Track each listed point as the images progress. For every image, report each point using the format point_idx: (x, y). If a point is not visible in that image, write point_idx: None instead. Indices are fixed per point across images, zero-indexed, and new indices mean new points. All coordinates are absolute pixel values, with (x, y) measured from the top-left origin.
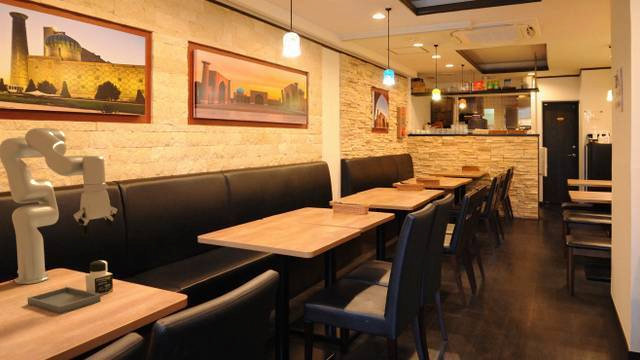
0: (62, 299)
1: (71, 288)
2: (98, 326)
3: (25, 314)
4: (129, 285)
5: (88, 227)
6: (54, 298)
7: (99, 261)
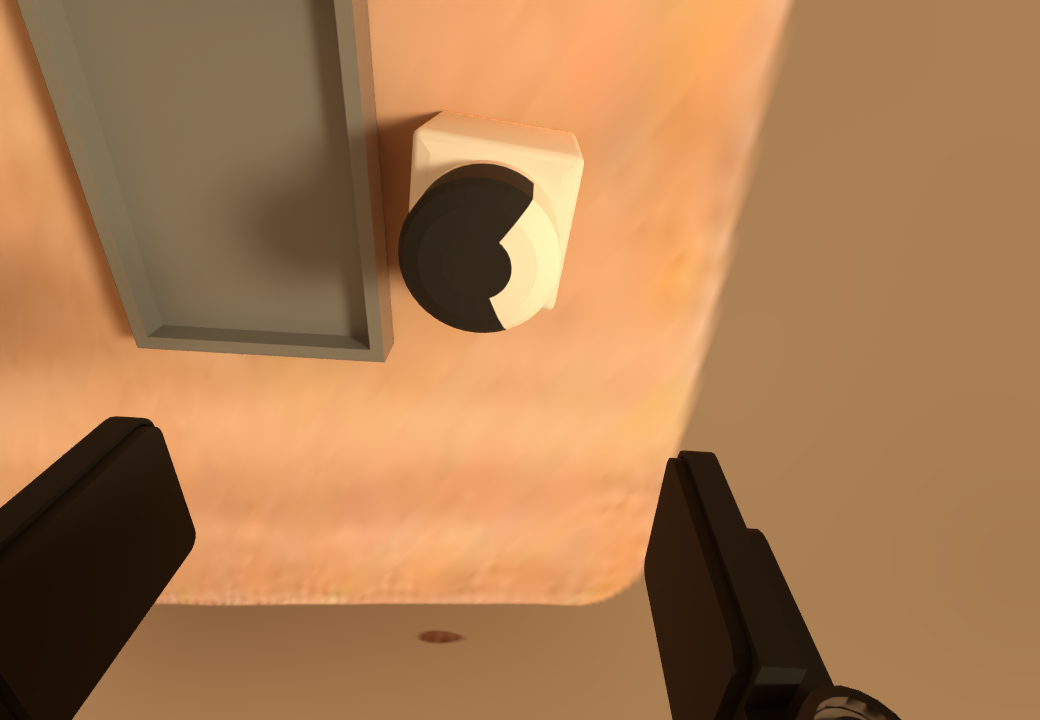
0: (238, 144)
1: (340, 45)
2: (230, 555)
3: (3, 158)
4: (693, 250)
5: (92, 687)
6: (205, 63)
7: (485, 275)
